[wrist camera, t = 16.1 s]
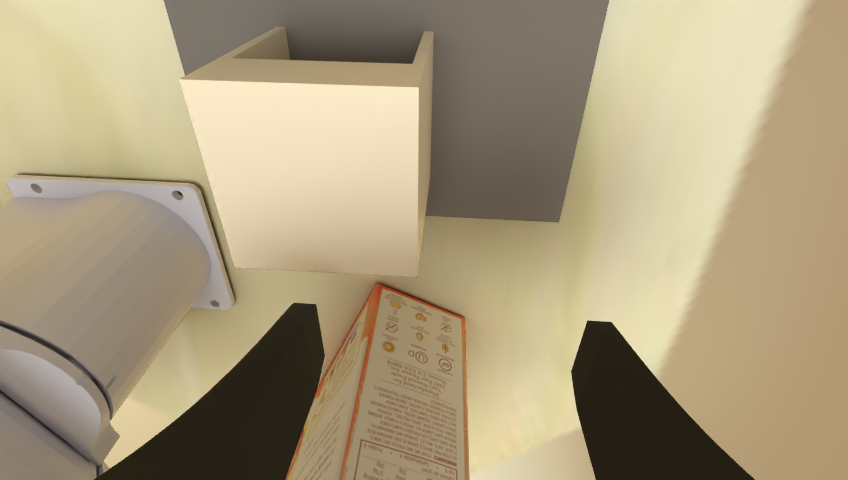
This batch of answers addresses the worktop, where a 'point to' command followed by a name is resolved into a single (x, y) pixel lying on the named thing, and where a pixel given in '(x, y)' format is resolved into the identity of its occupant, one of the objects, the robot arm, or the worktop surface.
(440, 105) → the mat
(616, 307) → the worktop surface
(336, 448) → the cracker box
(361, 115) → the box
